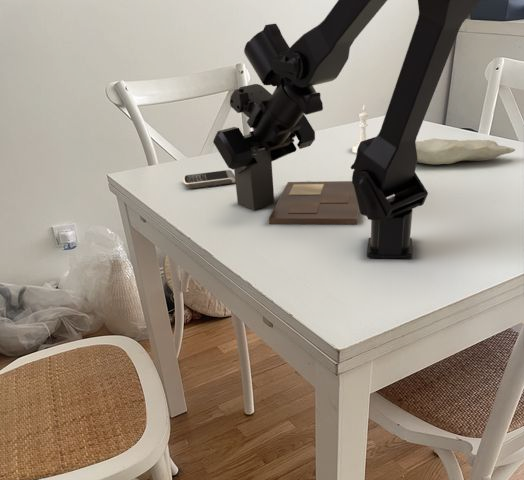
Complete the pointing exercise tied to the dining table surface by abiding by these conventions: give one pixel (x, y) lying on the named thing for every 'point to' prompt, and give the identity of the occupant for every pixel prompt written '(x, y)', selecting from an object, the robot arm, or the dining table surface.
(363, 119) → the chess piece
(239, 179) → the dark grey rectangular block
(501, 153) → the stone tool replica
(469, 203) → the dining table surface
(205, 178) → the cell phone
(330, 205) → the game board
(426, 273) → the dining table surface
